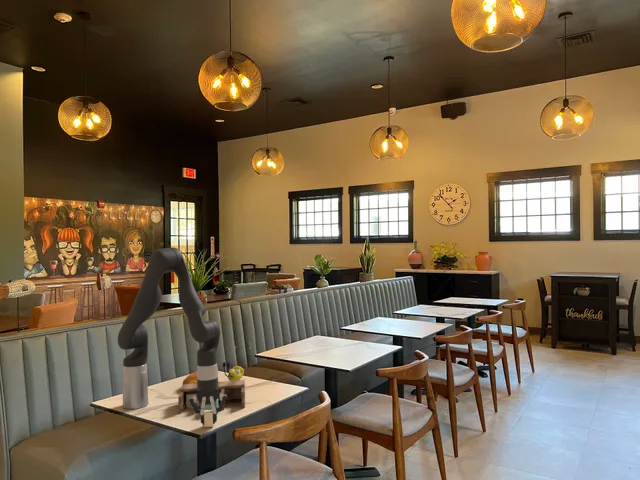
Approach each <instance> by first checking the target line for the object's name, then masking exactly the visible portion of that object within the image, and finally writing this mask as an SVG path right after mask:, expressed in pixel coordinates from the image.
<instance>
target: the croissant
mask: <svg viewBox="0 0 640 480" xmlns="http://www.w3.org/2000/svg"><path fill="white" fill-rule="evenodd" d="M196 383H197V371H195V372H194V371H193V372H192V373H189V375H187V376H186V377H185V378H184V379H183V381H182V385H183V384H196Z"/></svg>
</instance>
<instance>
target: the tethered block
mask: <svg viewBox="0 0 640 480" xmlns="http://www.w3.org/2000/svg"><path fill="white" fill-rule="evenodd" d="M219 405H220V403H219V400H218V399H217V400H216V408H218V407H219ZM217 414H219V412H217ZM203 426H204V428H211V427H214V424H213V410H212V406H211V405H205V410H204V425H203Z"/></svg>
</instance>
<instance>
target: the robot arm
mask: <svg viewBox="0 0 640 480" xmlns="http://www.w3.org/2000/svg"><path fill="white" fill-rule="evenodd" d="M171 272H174V274H175V276H176V277H177V281H178V300H179V301H178V302H179V304H180V306H181V309H182V310H183V313H184V314H185V316H186V318H187V322H188V323H187V324H188V327H189V332H190V335H191V338H193V340H194V341H195V342H197V343H200V344H202V343H203V344H202V346H201V347H200V348H199V349H197V352H196V364H197V365H196V372H197V394H196V396H194V397H190V400H189V401H190V403H191V405H192V407H191V408H192V409H193V411H194V413H195V414H198V415H200V424H202V426H204V411H205V405H211V406H212V410H213V425H215V423H217V422H218V413H220V412H222V411H223V410H222V408H223V405H224V403H225V404H226V401H227V400H226V397H227V395H226V394H221V393H220V391H219V389H218V382H219V369H218V368H219V367H218V357H217V356H218V355H217V352H218V347H219V343H220V337H221V330H220V326H219V324H218V322H216V321H215V320H210V319H209V320H206V321H203V316H204V315H206V308H205V306H204V305H203V302H202V301H201V299H200V297H199V295H198V294H197V293H198V292H197V291H196V289H195V286H194V284H193V281H192V278H191V274H190V271H189V269H188V266H187V263H186V260H185V258H184V256H183V253H182V252H181V250H180V249H179V248H177V247H173V246H172V247H165V248H159V249H155V250H153V251H152V253H151V255H150V257H149V260H148V263H147V267H146V271H145V274H144V277H143V280H142V282H141V285H140V288H139V290H138V292H137V293H136V297H135V299H134V302H133V304H132V306H131V309H130V311H129V313H128V315H127V317H126V319H125V320H124V322H123V324H122V326H121V327H120V329H119V332H118V333H117V344H118V347H119V349H122V350H124V351H127V350H132V352H130V354H128V355H126V357H124V358H123V360H122V368H123V384H122V387H121V389H122V408H123V409H127V410H135V409H140V408H144V407H146V406H148V404H149V387H148V357H149V333H148V329H147V327H146V326H145V325H144V324H143V323H146V322H147V321H148V320H149V319H150V318H151V317H152V316H153V315H154V314H155V313H156V312H157V310H158V308H159V306H160V304H161V301H162V290H161V288H160V285H159V284H160V281H161V278H162V277H163V275H164V274H166V273H171ZM218 397H220V400H219V401H220V403H219V407H218V408H216V400H217V399H218ZM196 399H198V400H199V401H200V402H201V404H202V405H201V409H200V407H199V406H197V404H196ZM225 400H226V401H225ZM217 412H218V413H217Z"/></svg>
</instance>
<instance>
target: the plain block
mask: <svg viewBox="0 0 640 480" xmlns="http://www.w3.org/2000/svg"><path fill="white" fill-rule="evenodd" d="M196 394H197V391H189V392H187V395H186V402H187V403H186V408H193V407H192V405H191V403H190V401H189V400H190V397H194V396H196ZM196 404H197V406H198V407H200V401H199V400H198V399H196Z"/></svg>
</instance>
